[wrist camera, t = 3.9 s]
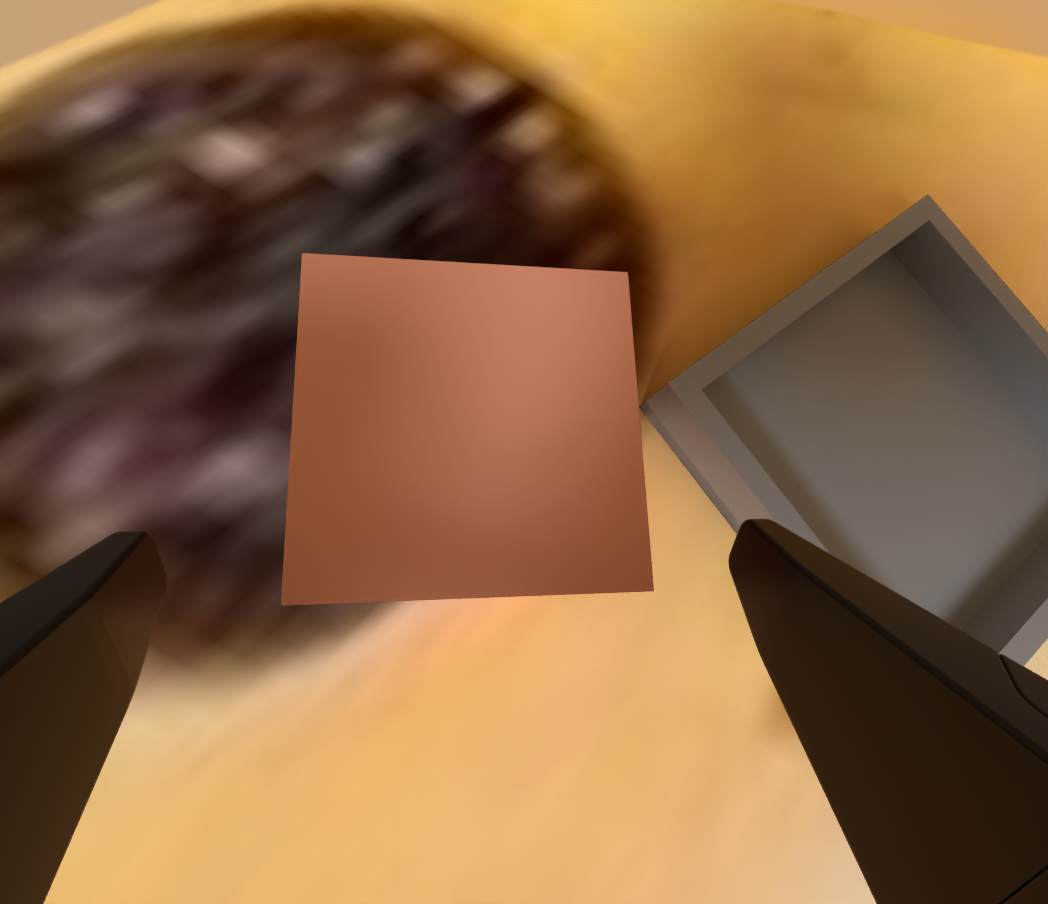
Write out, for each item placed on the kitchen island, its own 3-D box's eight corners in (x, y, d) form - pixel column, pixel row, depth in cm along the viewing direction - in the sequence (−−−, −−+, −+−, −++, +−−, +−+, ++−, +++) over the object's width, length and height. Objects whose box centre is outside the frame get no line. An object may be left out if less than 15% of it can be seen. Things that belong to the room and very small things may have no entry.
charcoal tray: (1098, 495, 22) (1178, 484, 20) (886, 727, 19) (952, 749, 16) (877, 233, 24) (928, 194, 21) (639, 406, 20) (667, 383, 18)
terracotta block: (548, 587, 18) (653, 590, 10) (355, 594, 17) (280, 606, 9) (540, 409, 20) (627, 272, 11) (361, 406, 19) (302, 253, 10)
